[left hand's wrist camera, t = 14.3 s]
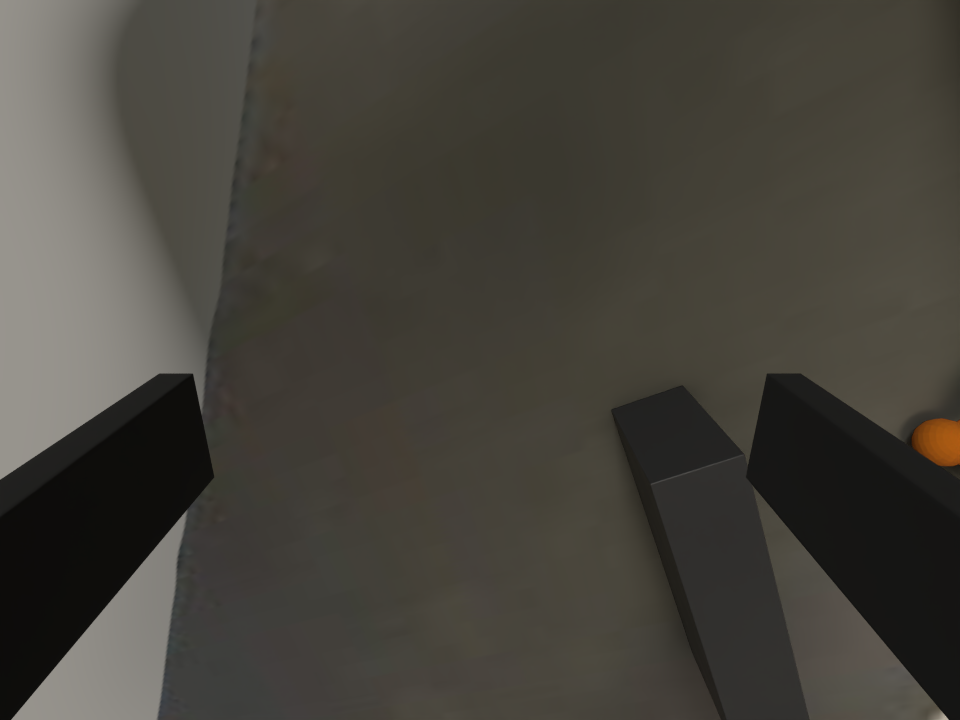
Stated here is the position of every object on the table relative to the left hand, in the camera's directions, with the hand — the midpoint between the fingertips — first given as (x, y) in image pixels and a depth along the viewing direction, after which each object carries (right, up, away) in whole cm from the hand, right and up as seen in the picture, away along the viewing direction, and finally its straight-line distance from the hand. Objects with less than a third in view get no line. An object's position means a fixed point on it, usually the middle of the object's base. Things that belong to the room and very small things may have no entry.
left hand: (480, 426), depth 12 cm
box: (+19, -14, +36) cm, 43 cm away
